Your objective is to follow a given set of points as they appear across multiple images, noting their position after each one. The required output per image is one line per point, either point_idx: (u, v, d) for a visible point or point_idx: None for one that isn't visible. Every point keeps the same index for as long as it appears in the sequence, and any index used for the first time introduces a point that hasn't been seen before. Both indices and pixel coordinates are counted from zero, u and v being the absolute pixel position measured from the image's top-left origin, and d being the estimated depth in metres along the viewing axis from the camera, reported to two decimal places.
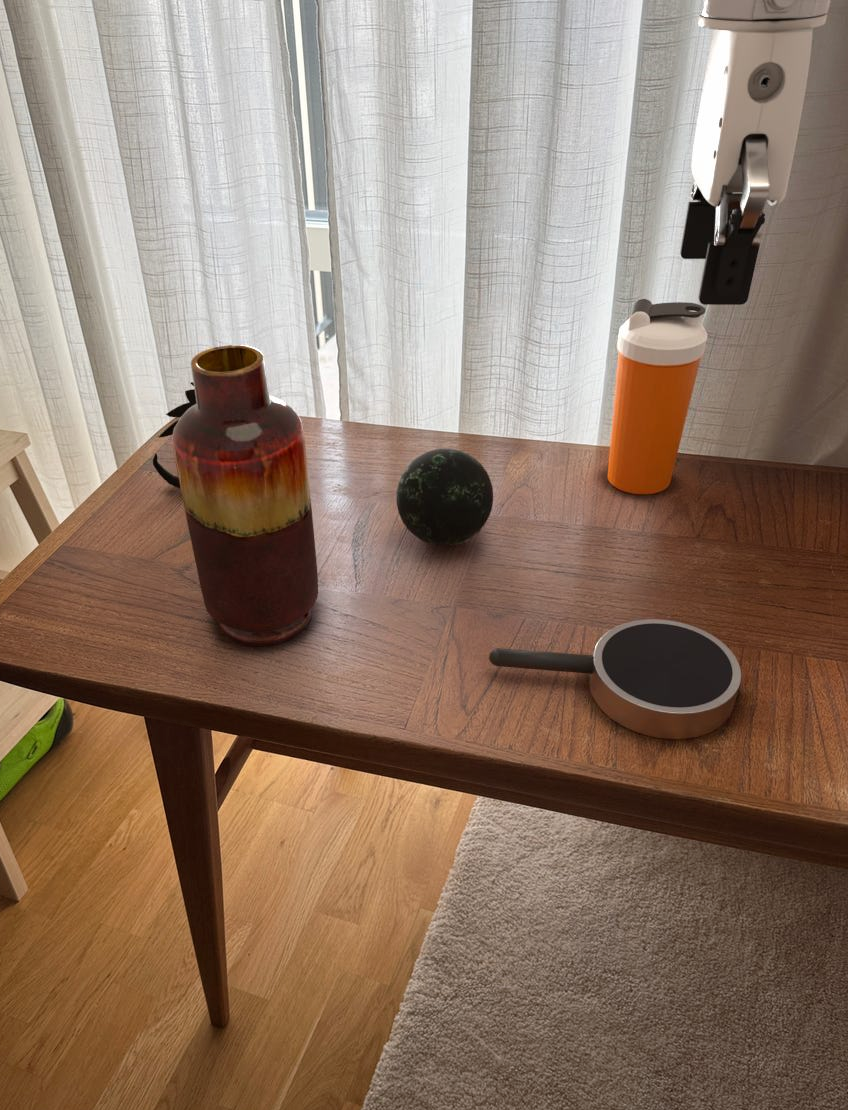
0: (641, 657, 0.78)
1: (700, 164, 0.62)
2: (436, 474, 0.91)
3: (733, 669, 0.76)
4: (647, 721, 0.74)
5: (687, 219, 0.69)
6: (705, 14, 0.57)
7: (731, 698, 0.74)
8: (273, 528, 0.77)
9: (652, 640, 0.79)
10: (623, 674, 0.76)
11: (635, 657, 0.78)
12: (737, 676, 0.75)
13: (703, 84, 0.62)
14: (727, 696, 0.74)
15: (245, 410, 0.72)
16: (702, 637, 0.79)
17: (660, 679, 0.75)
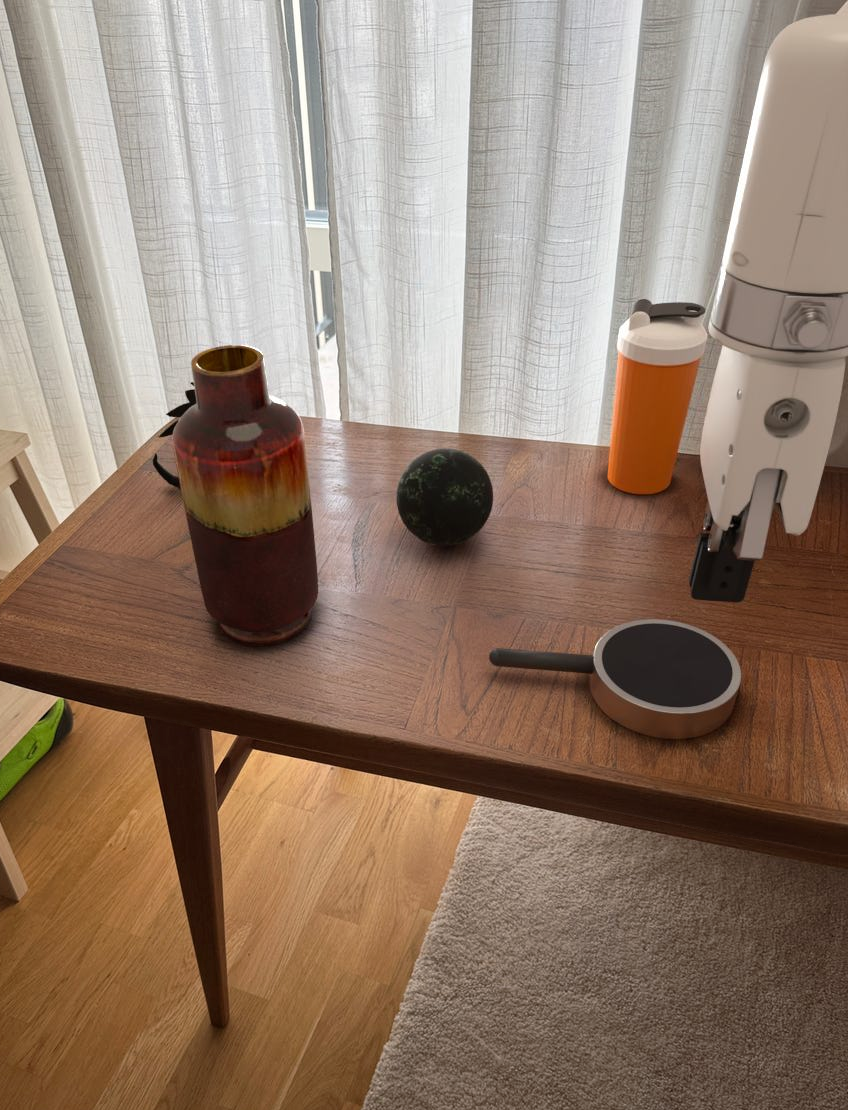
0: (641, 657, 0.78)
1: (708, 470, 0.53)
2: (436, 474, 0.91)
3: (733, 669, 0.76)
4: (647, 721, 0.74)
5: (698, 551, 0.57)
6: (716, 325, 0.47)
7: (731, 698, 0.74)
8: (273, 528, 0.77)
9: (652, 640, 0.79)
10: (623, 674, 0.76)
11: (635, 657, 0.78)
12: (737, 676, 0.75)
13: (715, 375, 0.53)
14: (727, 696, 0.74)
15: (246, 411, 0.72)
16: (702, 637, 0.79)
17: (660, 679, 0.75)
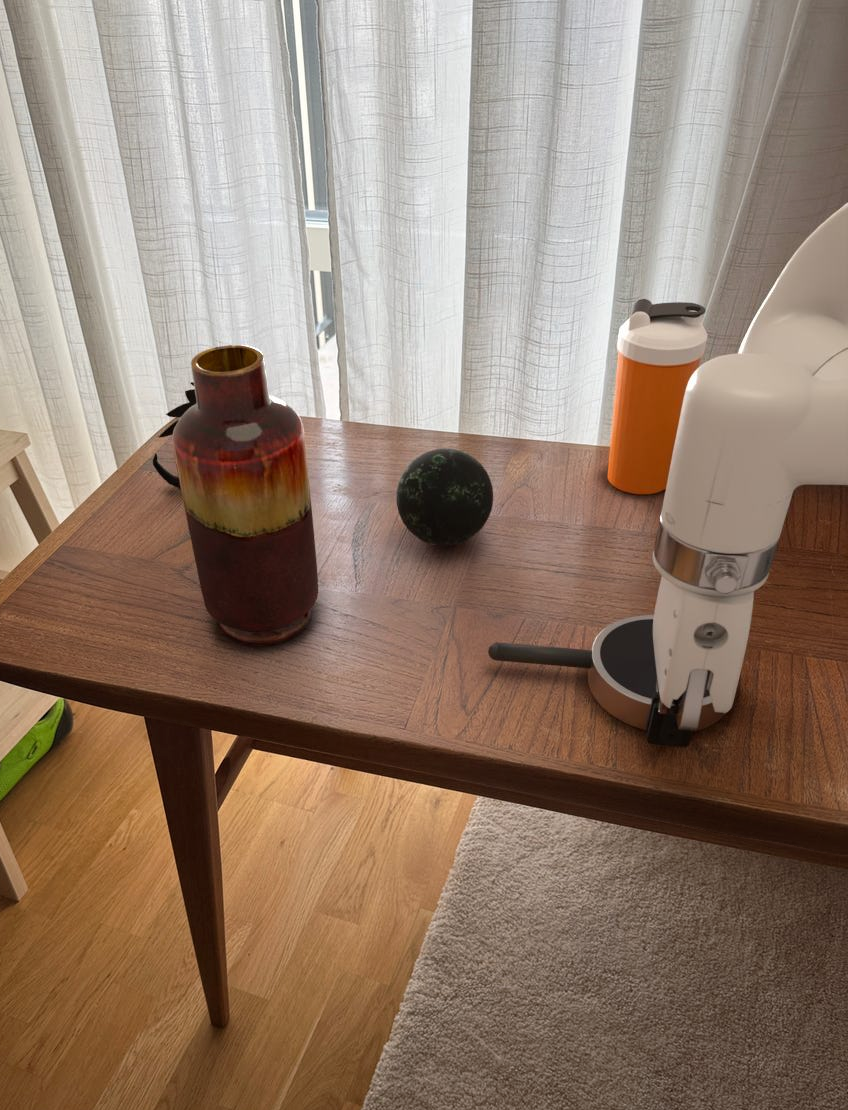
0: (639, 652, 0.78)
1: (656, 654, 0.67)
2: (436, 474, 0.91)
3: None
4: (644, 715, 0.74)
5: (651, 708, 0.71)
6: (657, 560, 0.61)
7: None
8: (273, 528, 0.77)
9: (651, 635, 0.80)
10: (621, 669, 0.77)
11: (633, 652, 0.78)
12: None
13: (661, 579, 0.67)
14: None
15: (246, 410, 0.72)
16: None
17: None
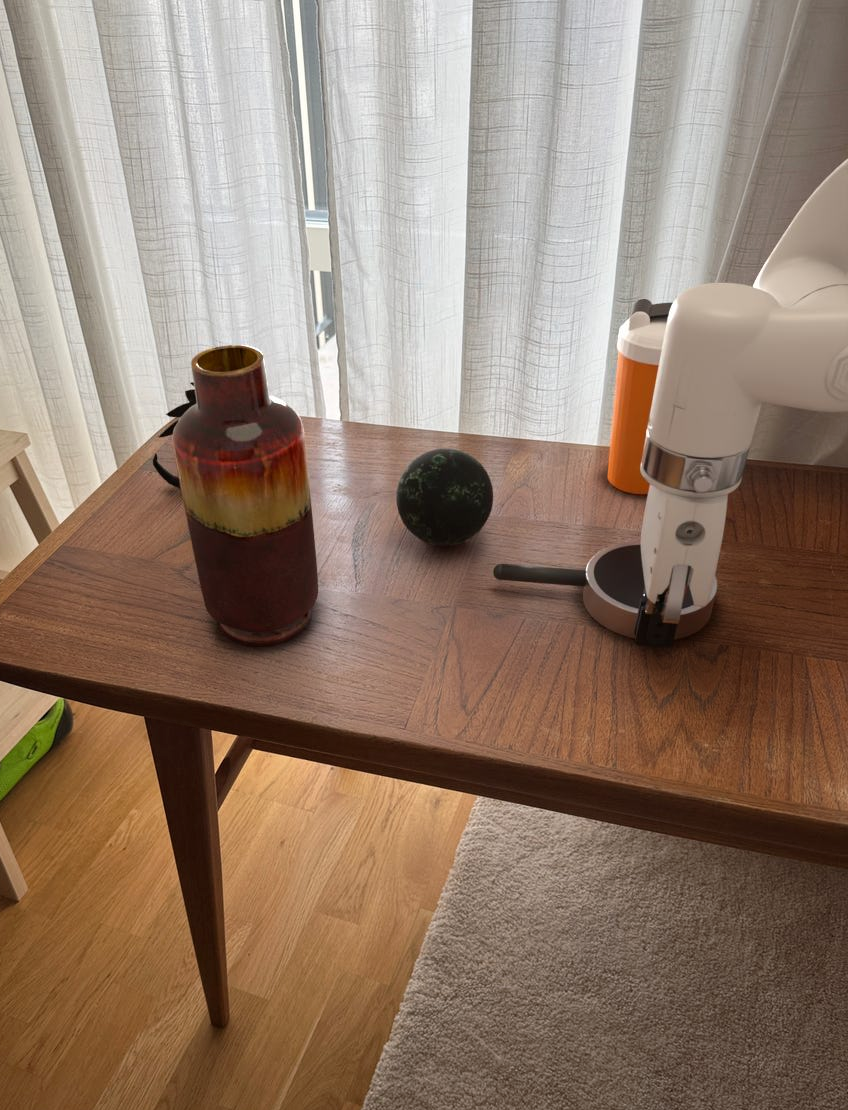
0: (629, 571, 0.87)
1: (643, 559, 0.76)
2: (436, 474, 0.91)
3: None
4: (632, 624, 0.83)
5: (639, 612, 0.80)
6: (644, 469, 0.70)
7: (707, 605, 0.83)
8: (273, 528, 0.77)
9: (639, 558, 0.89)
10: (612, 585, 0.86)
11: (623, 571, 0.87)
12: (713, 587, 0.85)
13: (648, 492, 0.76)
14: None
15: (246, 411, 0.72)
16: None
17: None
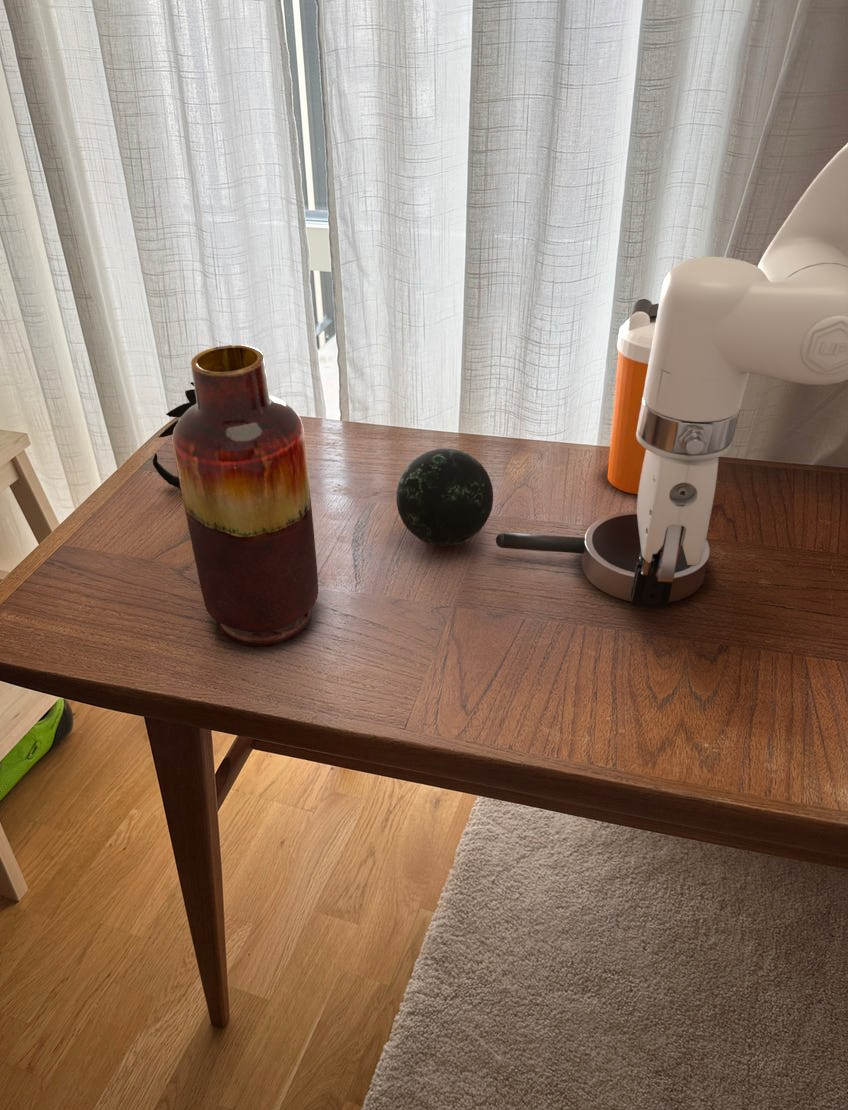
0: (625, 538, 0.91)
1: (639, 522, 0.80)
2: (436, 474, 0.91)
3: None
4: (628, 587, 0.88)
5: (636, 574, 0.85)
6: (640, 434, 0.74)
7: (700, 569, 0.87)
8: (273, 528, 0.77)
9: (635, 526, 0.93)
10: (610, 551, 0.90)
11: (620, 538, 0.91)
12: (706, 552, 0.89)
13: None
14: (697, 566, 0.87)
15: (246, 410, 0.72)
16: None
17: None
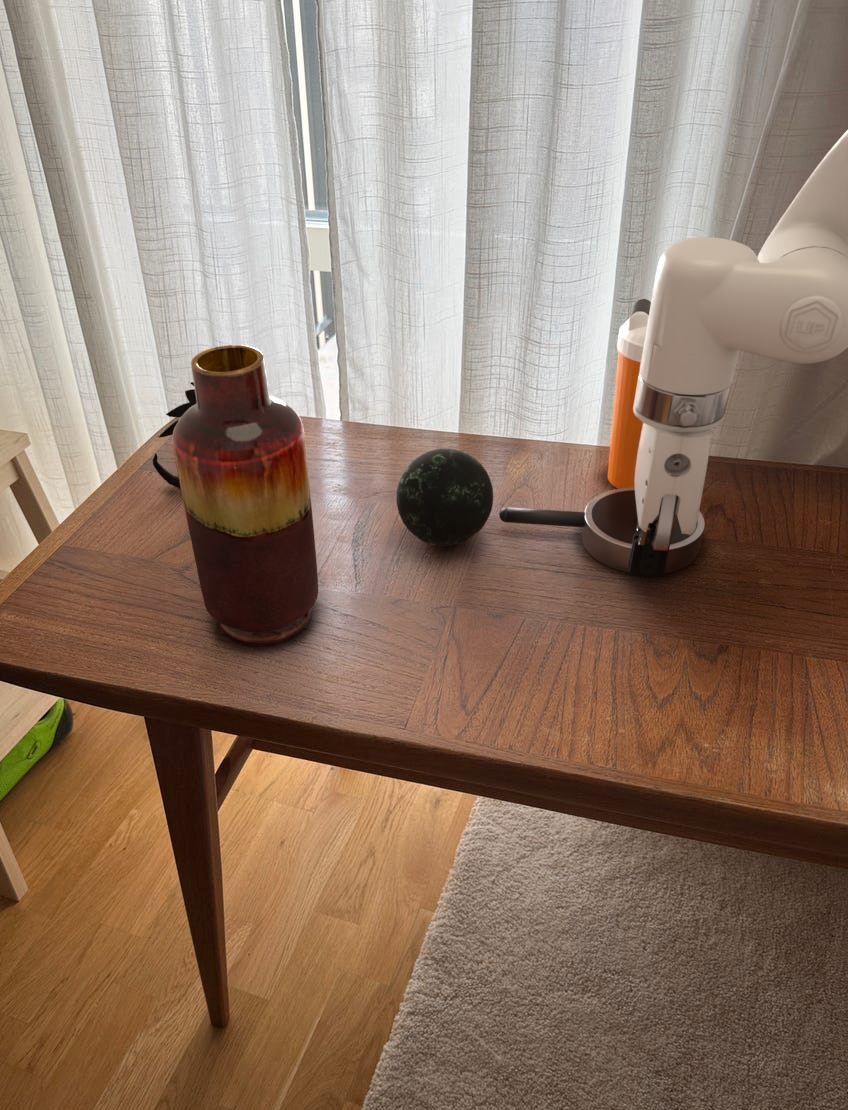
0: (624, 513, 0.95)
1: (636, 493, 0.84)
2: (436, 474, 0.91)
3: (698, 521, 0.93)
4: (626, 558, 0.91)
5: (633, 545, 0.88)
6: (637, 408, 0.78)
7: (695, 541, 0.91)
8: (273, 528, 0.77)
9: (634, 501, 0.97)
10: (608, 524, 0.94)
11: (619, 512, 0.95)
12: (701, 526, 0.93)
13: None
14: (692, 539, 0.91)
15: (246, 411, 0.72)
16: None
17: None
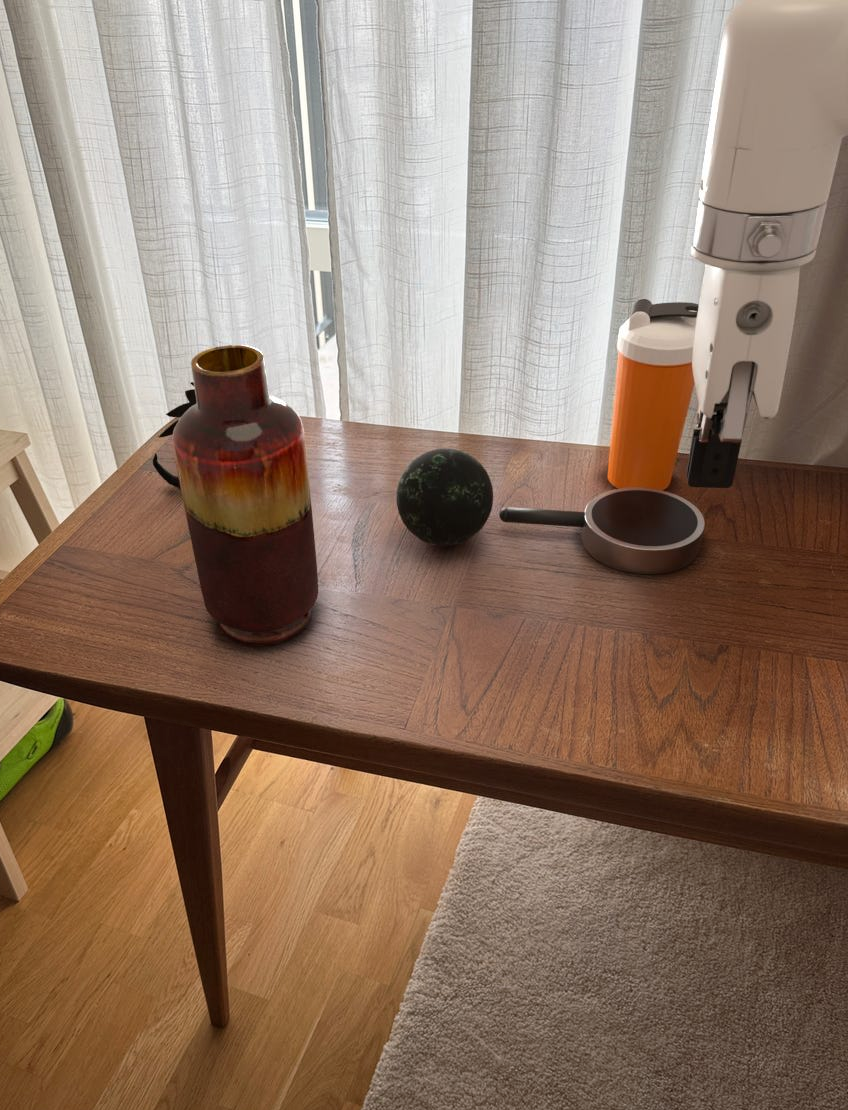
0: (624, 513, 0.95)
1: (696, 371, 0.64)
2: (436, 474, 0.91)
3: (698, 521, 0.93)
4: (626, 558, 0.91)
5: (692, 445, 0.68)
6: (696, 246, 0.58)
7: (695, 540, 0.91)
8: (273, 528, 0.77)
9: (634, 501, 0.97)
10: (608, 524, 0.94)
11: (619, 512, 0.95)
12: (701, 525, 0.93)
13: None
14: (692, 538, 0.91)
15: (246, 410, 0.72)
16: (674, 499, 0.97)
17: (638, 527, 0.93)
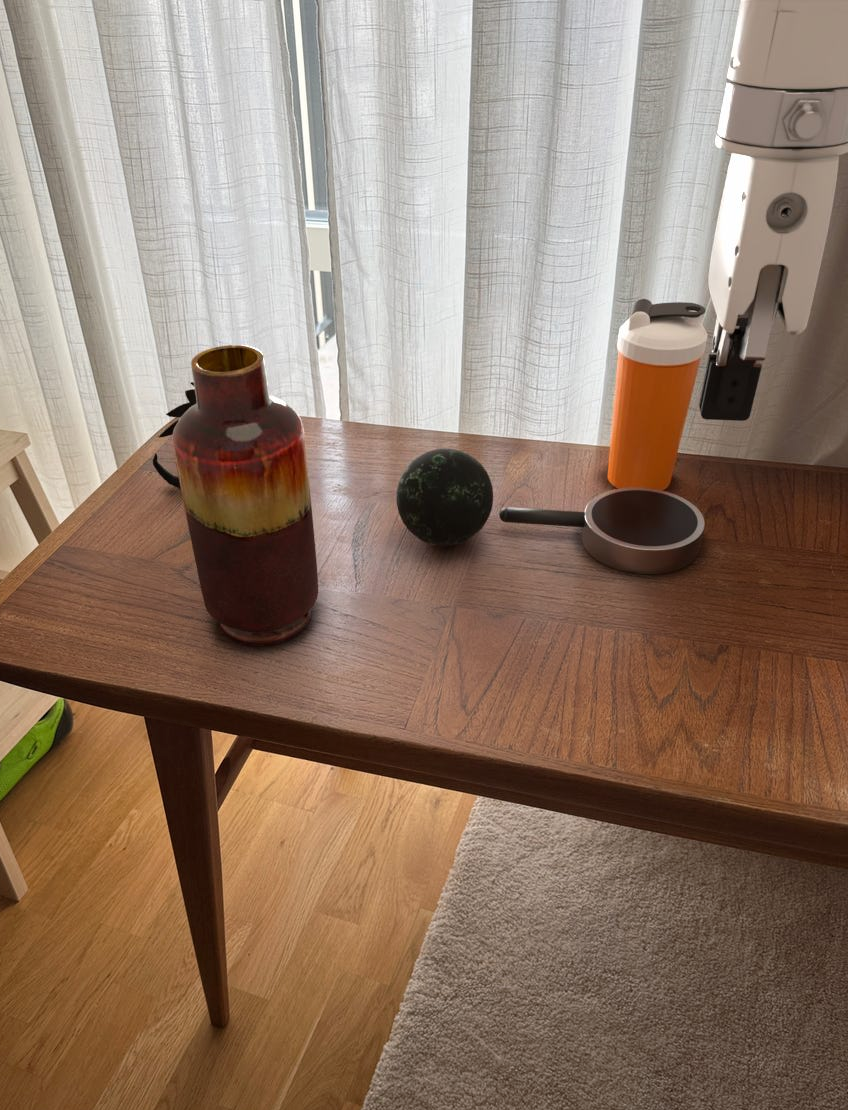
0: (624, 513, 0.95)
1: (716, 285, 0.58)
2: (436, 474, 0.91)
3: (698, 521, 0.93)
4: (626, 558, 0.91)
5: (707, 372, 0.62)
6: (722, 135, 0.52)
7: (695, 540, 0.91)
8: (273, 528, 0.77)
9: (634, 501, 0.97)
10: (608, 524, 0.94)
11: (619, 512, 0.95)
12: (701, 525, 0.93)
13: None
14: (692, 538, 0.91)
15: (246, 411, 0.72)
16: (674, 499, 0.97)
17: (638, 527, 0.93)
